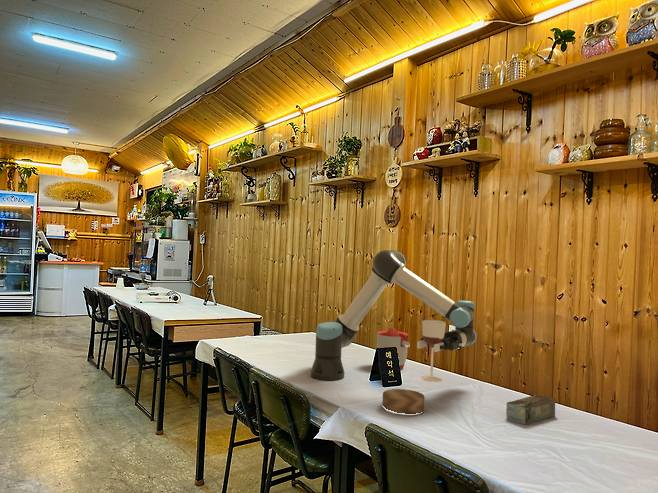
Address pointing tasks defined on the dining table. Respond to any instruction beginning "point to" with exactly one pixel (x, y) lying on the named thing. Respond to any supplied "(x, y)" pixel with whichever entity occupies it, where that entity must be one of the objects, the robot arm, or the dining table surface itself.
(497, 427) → the dining table surface
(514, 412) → the weathered grey-green block
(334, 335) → the robot arm
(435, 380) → the wineglass
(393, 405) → the walnut stand
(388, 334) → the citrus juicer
